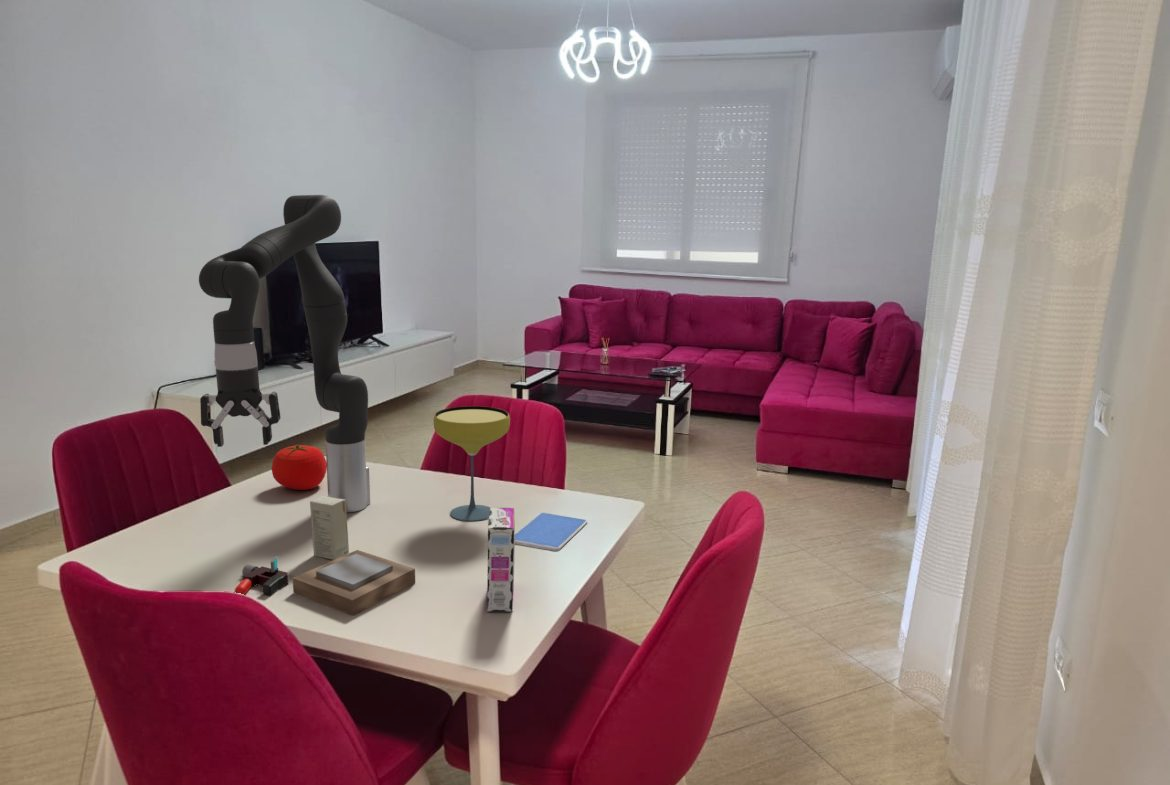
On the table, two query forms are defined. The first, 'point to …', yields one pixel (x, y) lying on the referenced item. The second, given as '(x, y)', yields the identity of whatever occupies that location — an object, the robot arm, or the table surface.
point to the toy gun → (262, 578)
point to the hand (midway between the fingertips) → (243, 444)
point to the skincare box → (329, 527)
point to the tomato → (299, 467)
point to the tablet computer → (549, 531)
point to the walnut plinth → (354, 581)
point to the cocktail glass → (471, 442)
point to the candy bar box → (500, 560)
